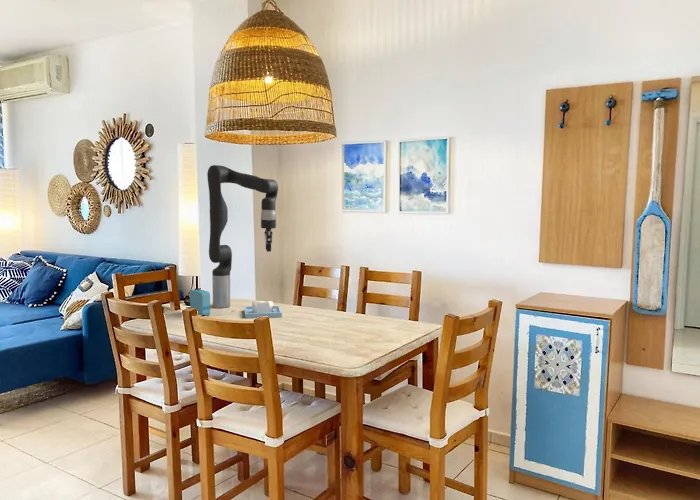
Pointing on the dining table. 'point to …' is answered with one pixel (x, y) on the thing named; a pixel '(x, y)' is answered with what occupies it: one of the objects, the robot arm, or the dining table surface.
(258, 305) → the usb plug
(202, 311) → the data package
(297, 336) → the dining table surface
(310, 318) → the dining table surface
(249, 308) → the blue tray
